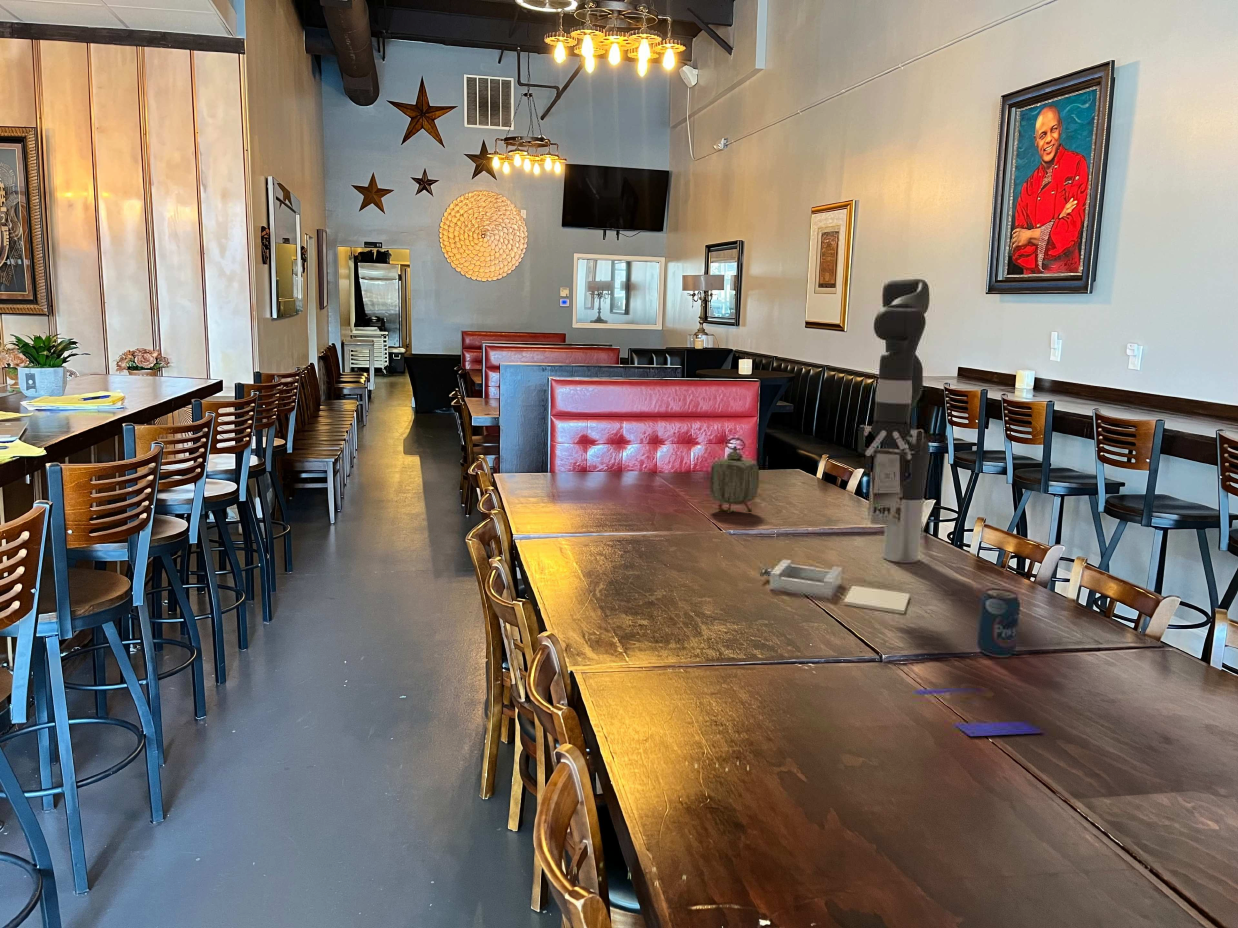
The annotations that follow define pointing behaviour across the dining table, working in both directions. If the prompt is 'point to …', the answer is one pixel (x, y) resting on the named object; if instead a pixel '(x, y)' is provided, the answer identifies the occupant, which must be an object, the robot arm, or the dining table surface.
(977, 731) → the blue strips
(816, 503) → the dining table surface
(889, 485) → the coffee box
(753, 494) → the tabletop clock
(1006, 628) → the soda can
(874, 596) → the pad
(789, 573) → the grey drawer
